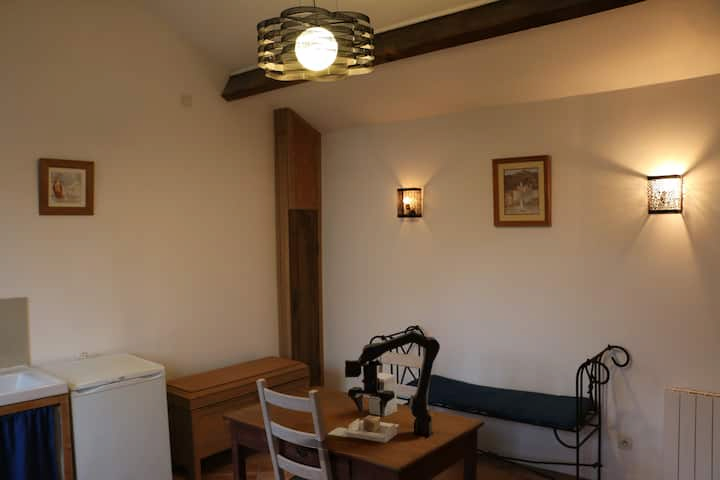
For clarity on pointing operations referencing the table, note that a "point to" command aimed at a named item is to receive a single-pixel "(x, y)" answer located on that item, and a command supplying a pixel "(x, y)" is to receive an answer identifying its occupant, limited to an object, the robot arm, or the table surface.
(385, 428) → the cream tray
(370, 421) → the tea box
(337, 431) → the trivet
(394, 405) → the supplement box
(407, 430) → the table surface
